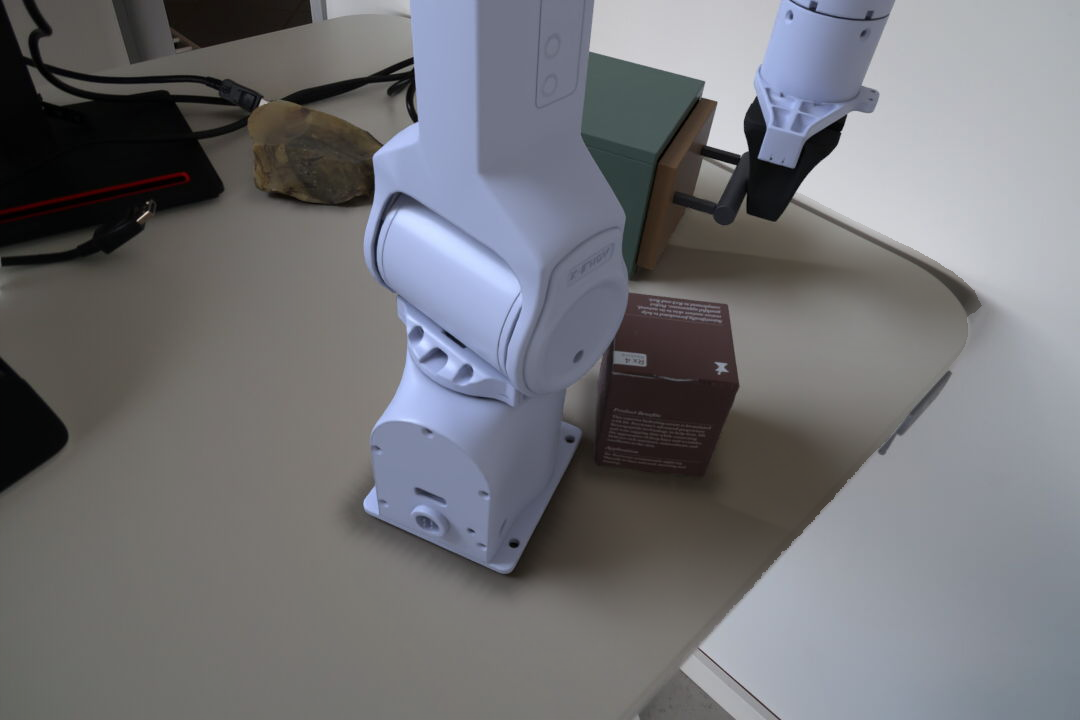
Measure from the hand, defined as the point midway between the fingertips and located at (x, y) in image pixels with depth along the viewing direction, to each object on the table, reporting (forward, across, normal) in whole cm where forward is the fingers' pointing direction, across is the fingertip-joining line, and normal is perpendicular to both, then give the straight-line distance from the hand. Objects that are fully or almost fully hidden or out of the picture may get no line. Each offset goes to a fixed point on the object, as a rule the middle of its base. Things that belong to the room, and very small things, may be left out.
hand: (762, 213), depth 49 cm
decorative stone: (+5, -5, +33) cm, 33 cm away
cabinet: (+4, 0, +14) cm, 14 cm away
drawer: (+4, 0, +10) cm, 10 cm away
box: (+5, -18, +2) cm, 19 cm away
